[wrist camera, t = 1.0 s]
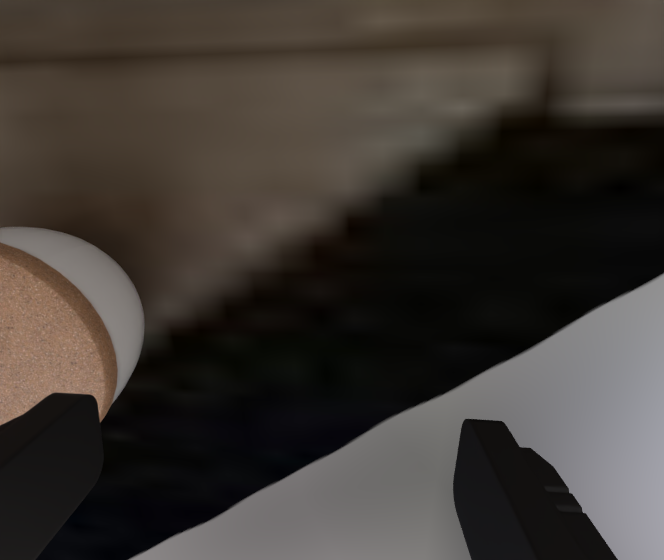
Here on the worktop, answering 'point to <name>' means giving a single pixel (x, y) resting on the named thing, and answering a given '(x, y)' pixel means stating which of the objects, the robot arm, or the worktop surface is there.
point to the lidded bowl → (63, 321)
